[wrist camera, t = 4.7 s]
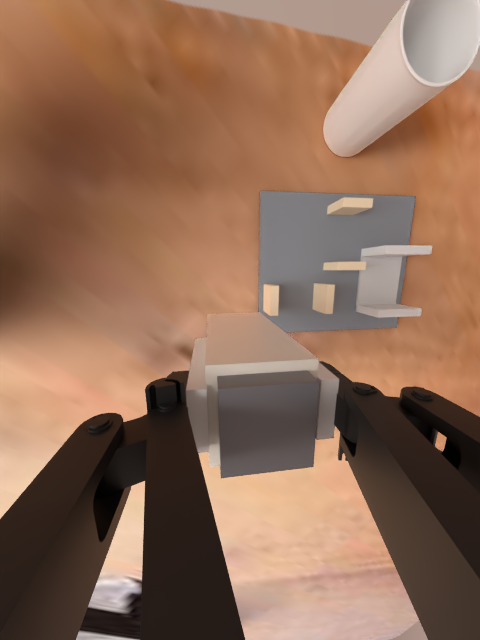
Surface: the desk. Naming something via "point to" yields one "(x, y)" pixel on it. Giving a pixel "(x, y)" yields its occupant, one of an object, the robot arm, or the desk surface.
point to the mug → (404, 71)
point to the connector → (258, 396)
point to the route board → (334, 260)
